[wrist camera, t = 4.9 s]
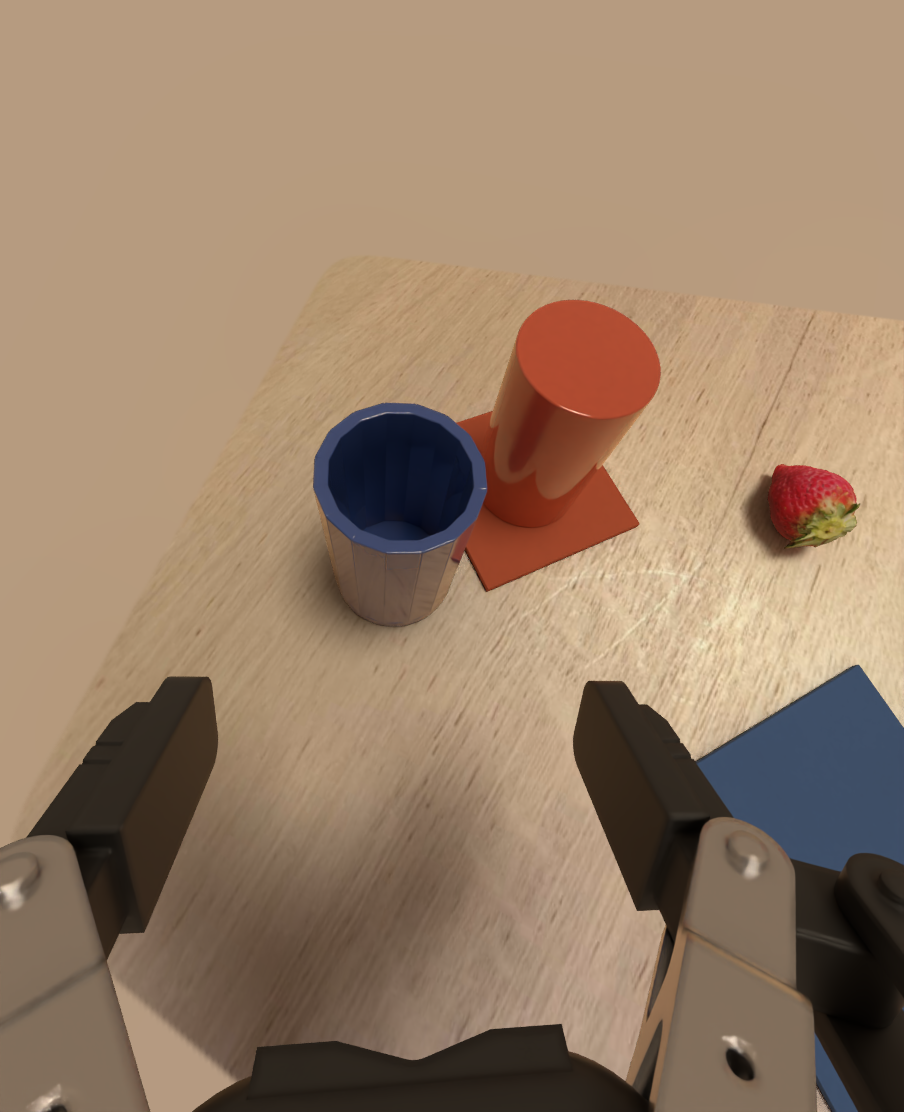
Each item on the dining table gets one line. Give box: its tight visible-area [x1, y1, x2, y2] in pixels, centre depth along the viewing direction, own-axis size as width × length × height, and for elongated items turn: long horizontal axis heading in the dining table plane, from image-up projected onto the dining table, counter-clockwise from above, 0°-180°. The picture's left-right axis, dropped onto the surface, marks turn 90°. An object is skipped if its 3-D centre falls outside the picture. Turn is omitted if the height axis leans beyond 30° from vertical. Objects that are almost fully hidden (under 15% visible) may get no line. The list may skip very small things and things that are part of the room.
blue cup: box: [313, 403, 487, 626], centre depth 23 cm, size 6×6×10 cm
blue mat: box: [696, 665, 904, 1112], centre depth 25 cm, size 14×14×1 cm
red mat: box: [457, 411, 639, 591], centre depth 30 cm, size 10×10×1 cm
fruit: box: [768, 464, 860, 548], centre depth 30 cm, size 4×6×5 cm
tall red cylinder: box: [480, 300, 661, 528], centre depth 25 cm, size 6×6×10 cm
